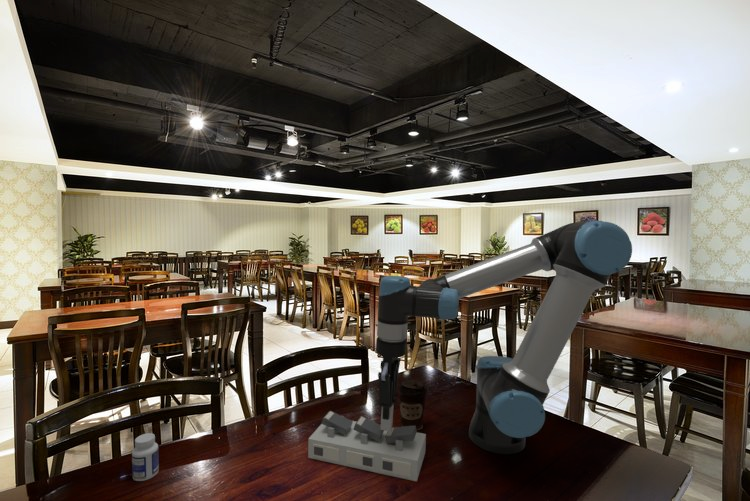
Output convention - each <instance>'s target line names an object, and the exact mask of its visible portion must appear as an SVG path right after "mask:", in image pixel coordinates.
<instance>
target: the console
mask: <svg viewBox="0 0 750 501" xmlns="http://www.w3.org/2000/svg"><path fill="white" fill-rule="evenodd" d="M341 416H342V417H344V418H345V416H344V415H341ZM352 421H353V423H352V426H351V428H350V429H349V431H348V432H347V433H346V435H343V434H341V433H339V432H337V431H335V428H332V427H327V426H325V425H323V424H320V425H319V426H318V427H317V428H316V429H315V431H314V432H313V433H312V434H311V435H310V436H309V437H308V441H307V444H308V447H307V448H308V450H307V451H308V452H307V454H308V456H307V458H308V459H312V460H316V461H321V462H327V463H330V464H335V465H339V466H344V467H349V468H354V469H358V470H363V471H366V472H367V471H368V472H372V473H375V474H376V473H377V474H380V475H385V476H389V477H394V478H398V479H402V480H403V479H404V480H409V481H412V482H418V478H419V476H420V472H421V469H422V466H423V462H424V458H425V455H426V446H427V445H426V444H427V443H426V442H427V441H426V440H427V434H426V433H422V432H417V433H416V435H415V438H414V441H406V442H403V441H401V440H396V442H394V443H386V439H385V436H386V434H387V432H388V431H385V430H384V433H383V435H382V436H381V438H380V440H379V442H378V441H376V440H374V439H372V438H370V437H368V434H364V433H360V432H357V431H355V430H353V429H354V426H355V424H356V422H357V421H355V420H352ZM372 421H373V422H375V421H374V420H372Z"/></svg>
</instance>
